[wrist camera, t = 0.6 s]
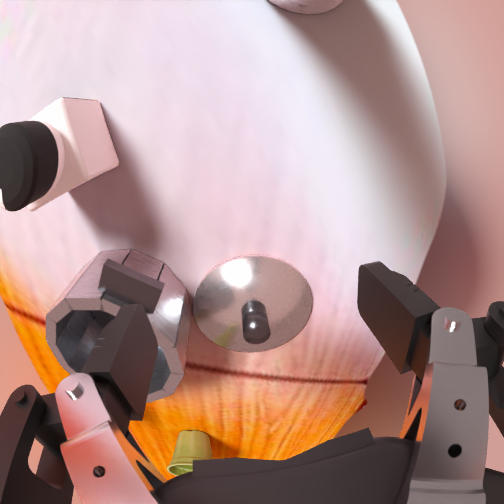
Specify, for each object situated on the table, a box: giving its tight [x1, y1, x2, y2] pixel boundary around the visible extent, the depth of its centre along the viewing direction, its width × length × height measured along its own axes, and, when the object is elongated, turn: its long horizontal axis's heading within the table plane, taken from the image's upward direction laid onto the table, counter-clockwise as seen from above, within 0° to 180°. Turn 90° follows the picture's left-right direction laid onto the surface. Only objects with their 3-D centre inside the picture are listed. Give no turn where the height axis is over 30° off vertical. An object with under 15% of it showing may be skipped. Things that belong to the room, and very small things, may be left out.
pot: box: [46, 249, 192, 403], centre depth 26 cm, size 19×14×9 cm
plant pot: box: [167, 430, 213, 476], centre depth 41 cm, size 9×9×9 cm
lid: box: [193, 254, 312, 352], centre depth 30 cm, size 14×14×5 cm
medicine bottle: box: [0, 97, 119, 211], centre depth 17 cm, size 7×7×12 cm
